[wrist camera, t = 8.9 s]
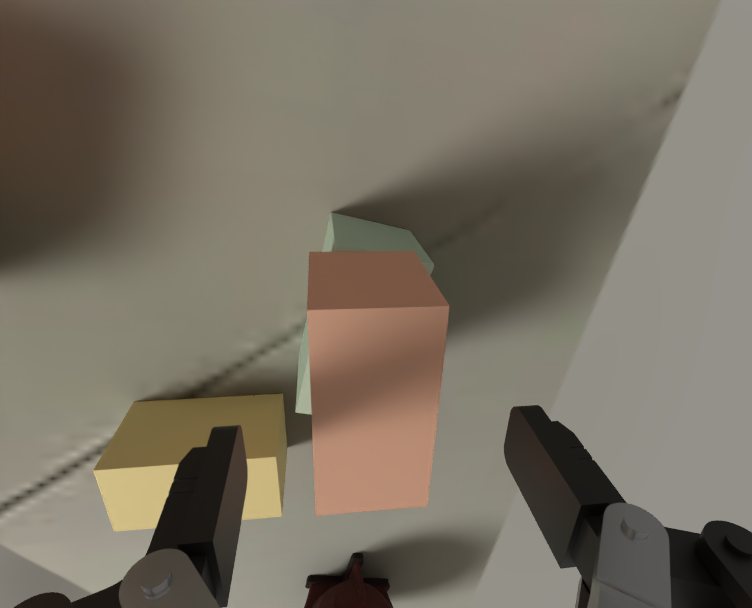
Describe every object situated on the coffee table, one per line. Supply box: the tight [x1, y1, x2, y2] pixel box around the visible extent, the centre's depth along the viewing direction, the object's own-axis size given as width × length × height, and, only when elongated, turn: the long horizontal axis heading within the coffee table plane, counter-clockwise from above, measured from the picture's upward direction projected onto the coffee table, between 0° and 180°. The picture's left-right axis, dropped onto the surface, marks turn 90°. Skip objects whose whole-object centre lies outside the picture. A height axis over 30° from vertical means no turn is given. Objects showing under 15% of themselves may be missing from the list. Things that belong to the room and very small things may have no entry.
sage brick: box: [296, 212, 434, 415], centre depth 21 cm, size 8×4×5 cm, turn 165°
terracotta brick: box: [307, 251, 450, 516], centre depth 16 cm, size 8×4×5 cm, turn 178°
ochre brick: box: [93, 394, 287, 532], centre depth 23 cm, size 8×4×5 cm, turn 89°
